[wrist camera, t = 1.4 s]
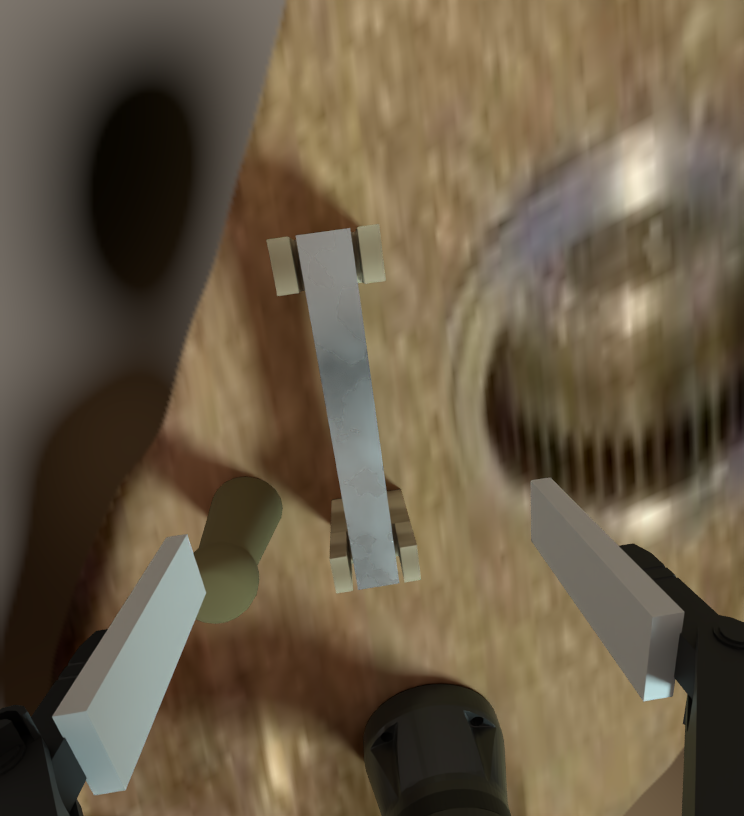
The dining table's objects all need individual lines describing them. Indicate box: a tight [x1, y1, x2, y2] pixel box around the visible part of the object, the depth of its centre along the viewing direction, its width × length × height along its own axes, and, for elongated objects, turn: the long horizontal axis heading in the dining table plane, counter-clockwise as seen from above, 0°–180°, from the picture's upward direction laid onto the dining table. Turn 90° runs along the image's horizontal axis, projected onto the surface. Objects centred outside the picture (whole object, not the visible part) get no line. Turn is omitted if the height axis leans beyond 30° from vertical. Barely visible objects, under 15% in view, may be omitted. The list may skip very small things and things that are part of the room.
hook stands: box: [266, 224, 421, 593], centre depth 31 cm, size 24×6×8 cm, turn 7°
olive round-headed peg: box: [193, 477, 283, 624], centre depth 32 cm, size 6×6×11 cm
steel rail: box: [296, 228, 399, 590], centre depth 28 cm, size 24×3×3 cm, turn 7°
